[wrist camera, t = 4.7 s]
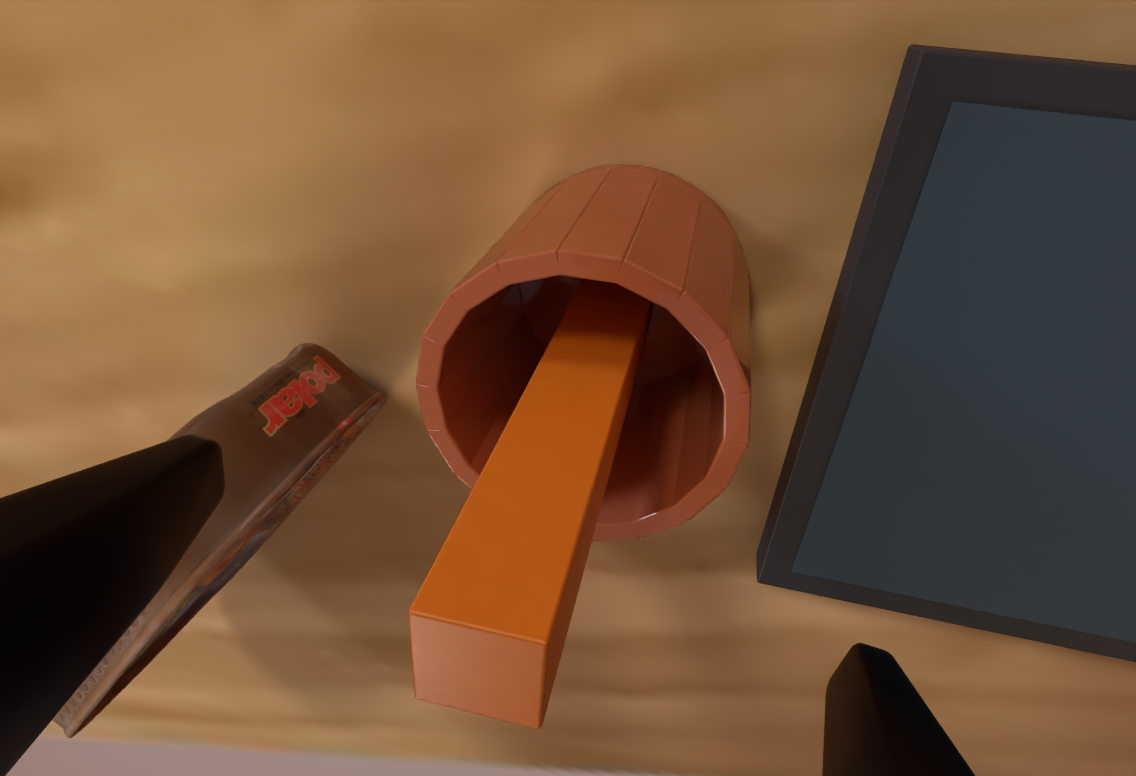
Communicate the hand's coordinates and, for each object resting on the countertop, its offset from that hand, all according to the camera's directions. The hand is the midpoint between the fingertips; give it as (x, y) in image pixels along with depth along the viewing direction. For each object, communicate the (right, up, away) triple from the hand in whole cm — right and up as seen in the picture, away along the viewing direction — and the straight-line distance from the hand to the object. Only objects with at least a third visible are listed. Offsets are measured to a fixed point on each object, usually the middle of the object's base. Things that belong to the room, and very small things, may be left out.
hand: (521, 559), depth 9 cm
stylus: (+2, +5, +8) cm, 9 cm away
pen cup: (+2, +5, +8) cm, 10 cm away
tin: (-9, 0, +14) cm, 17 cm away
